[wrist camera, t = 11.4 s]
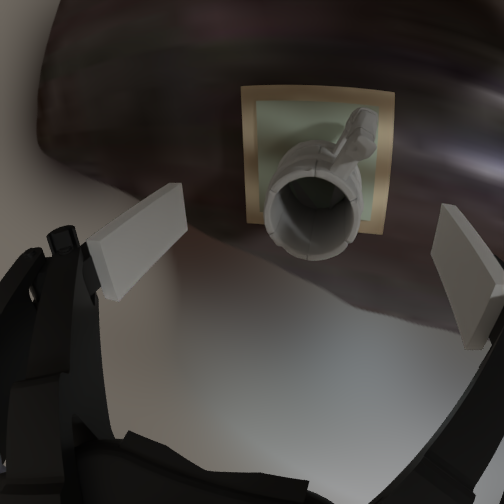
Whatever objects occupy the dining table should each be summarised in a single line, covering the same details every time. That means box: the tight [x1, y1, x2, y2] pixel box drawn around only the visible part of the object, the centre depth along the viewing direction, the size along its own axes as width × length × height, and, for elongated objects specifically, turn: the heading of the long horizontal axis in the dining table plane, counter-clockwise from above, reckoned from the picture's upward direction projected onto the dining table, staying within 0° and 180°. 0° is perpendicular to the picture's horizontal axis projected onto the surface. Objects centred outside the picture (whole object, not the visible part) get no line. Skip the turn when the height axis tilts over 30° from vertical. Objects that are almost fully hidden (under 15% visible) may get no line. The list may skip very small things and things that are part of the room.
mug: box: [263, 107, 378, 261], centre depth 21 cm, size 8×12×12 cm, turn 153°
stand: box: [241, 85, 395, 235], centre depth 28 cm, size 14×14×3 cm
